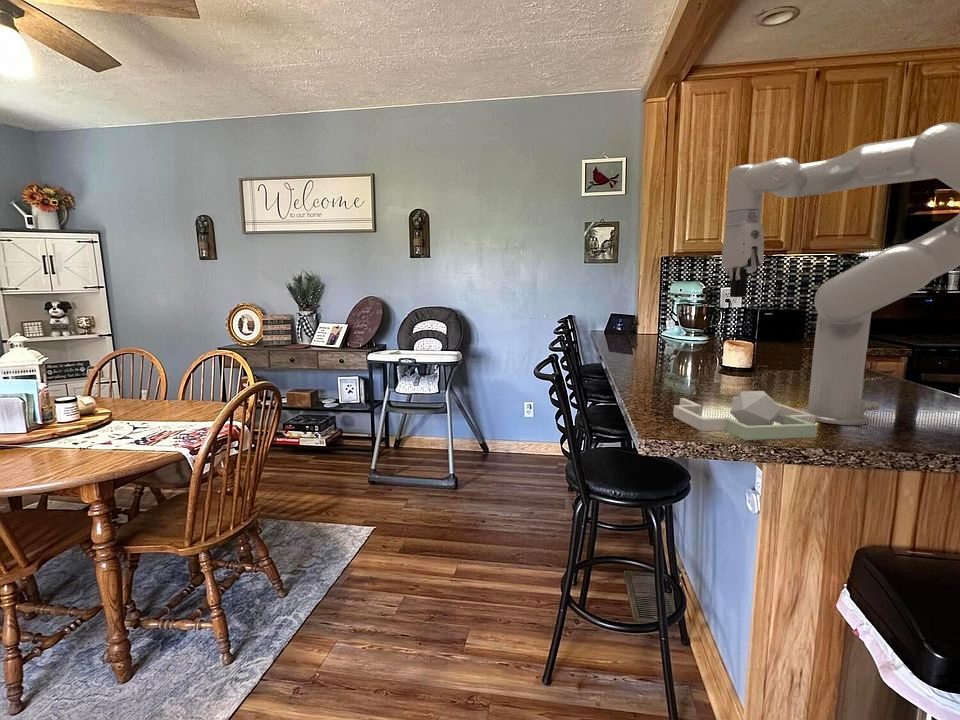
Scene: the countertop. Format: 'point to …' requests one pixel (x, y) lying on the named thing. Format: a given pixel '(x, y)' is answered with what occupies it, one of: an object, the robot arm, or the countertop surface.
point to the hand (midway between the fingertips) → (737, 296)
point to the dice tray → (792, 420)
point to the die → (755, 408)
